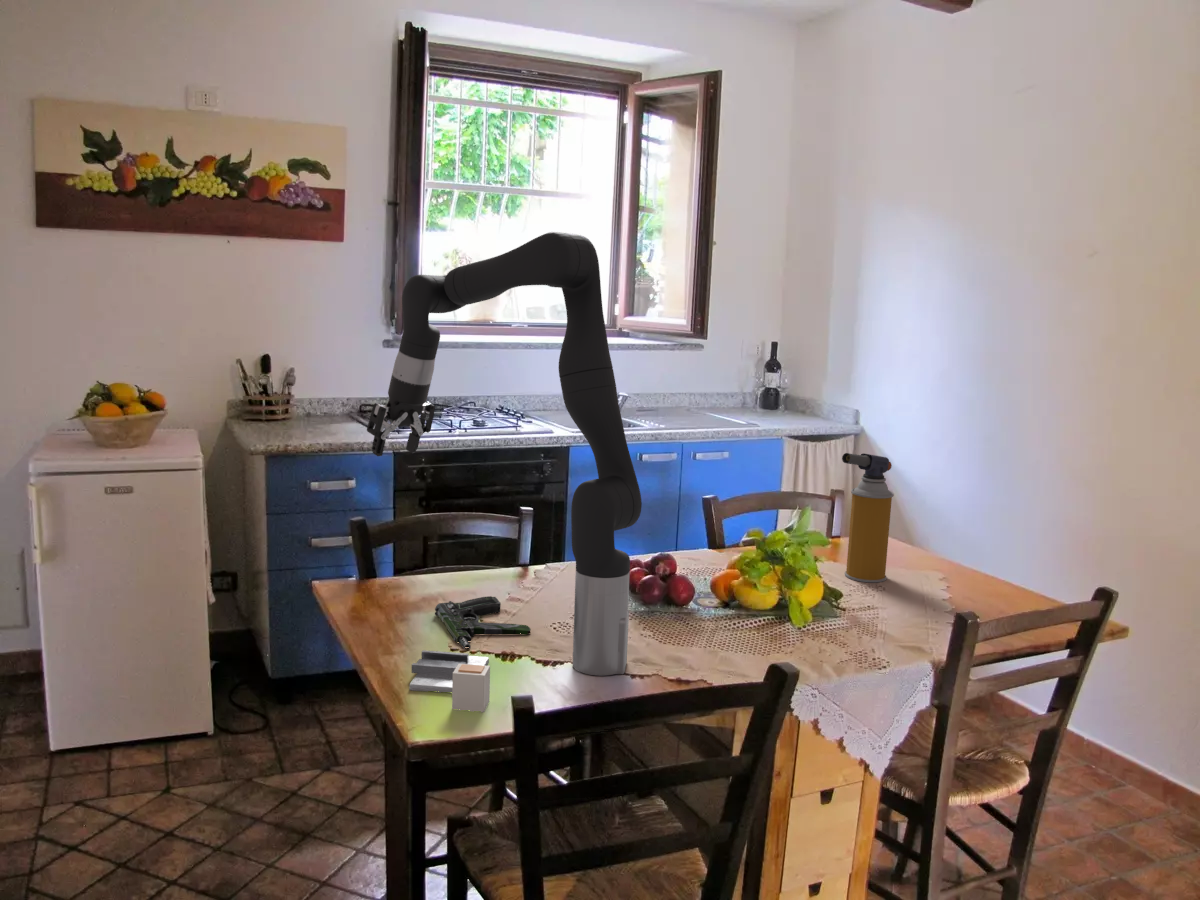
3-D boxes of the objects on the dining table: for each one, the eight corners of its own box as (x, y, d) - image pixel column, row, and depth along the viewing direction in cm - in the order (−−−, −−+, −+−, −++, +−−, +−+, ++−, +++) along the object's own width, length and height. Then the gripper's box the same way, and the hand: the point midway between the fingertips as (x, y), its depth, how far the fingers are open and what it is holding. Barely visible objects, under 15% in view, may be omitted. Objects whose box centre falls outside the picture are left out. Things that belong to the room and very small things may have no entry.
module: (489, 701, 163) (490, 664, 162) (483, 712, 159) (484, 673, 158) (458, 699, 164) (458, 661, 163) (452, 709, 160) (452, 671, 159)
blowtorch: (895, 578, 239) (907, 450, 234) (853, 589, 229) (863, 456, 224) (862, 568, 246) (872, 444, 241) (819, 579, 236) (828, 449, 231)
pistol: (538, 650, 191) (459, 656, 185) (502, 608, 210) (429, 612, 204) (539, 633, 190) (460, 639, 184) (503, 593, 210) (430, 597, 204)
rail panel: (488, 662, 179) (489, 649, 179) (470, 694, 165) (470, 680, 165) (426, 658, 180) (426, 644, 180) (403, 689, 166) (403, 675, 166)
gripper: (395, 384, 191) (377, 464, 196) (451, 382, 202) (433, 457, 207) (370, 369, 195) (353, 448, 200) (427, 368, 206) (409, 443, 211)
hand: (394, 453), depth 204 cm, fingers open, 8 cm apart
